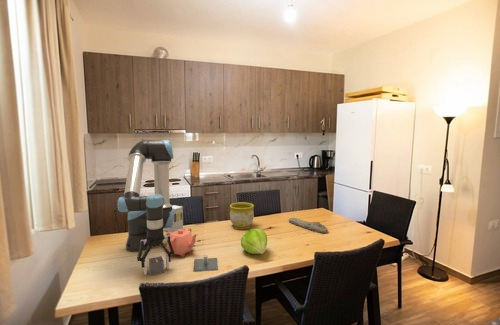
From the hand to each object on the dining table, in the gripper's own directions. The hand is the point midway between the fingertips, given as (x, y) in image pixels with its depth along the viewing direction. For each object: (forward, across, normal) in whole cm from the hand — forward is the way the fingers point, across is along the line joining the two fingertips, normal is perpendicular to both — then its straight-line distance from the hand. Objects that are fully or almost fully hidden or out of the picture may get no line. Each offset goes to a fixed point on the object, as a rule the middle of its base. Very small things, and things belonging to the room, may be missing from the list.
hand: (156, 270), depth 133 cm
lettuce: (0, +54, -5) cm, 54 cm away
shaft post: (0, +24, -5) cm, 24 cm away
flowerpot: (+1, +68, +39) cm, 78 cm away
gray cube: (0, 0, 0) cm, 0 cm away
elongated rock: (+1, +110, +16) cm, 111 cm away
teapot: (0, +18, +16) cm, 24 cm away
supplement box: (+1, +22, +56) cm, 60 cm away
